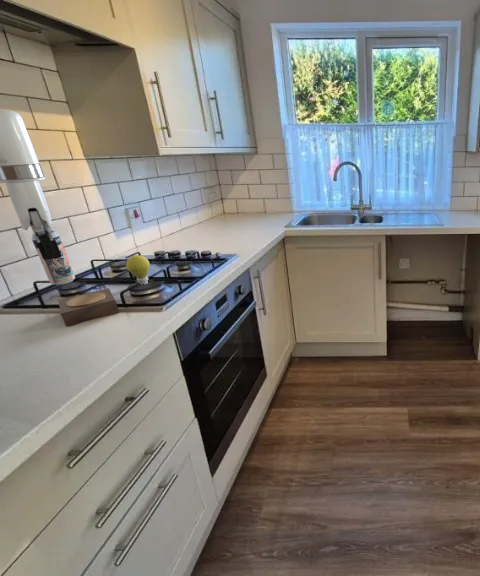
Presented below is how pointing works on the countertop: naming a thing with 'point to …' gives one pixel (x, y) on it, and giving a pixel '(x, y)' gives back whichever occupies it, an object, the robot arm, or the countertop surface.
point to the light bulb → (138, 268)
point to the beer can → (56, 264)
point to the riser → (87, 307)
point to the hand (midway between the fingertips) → (52, 254)
